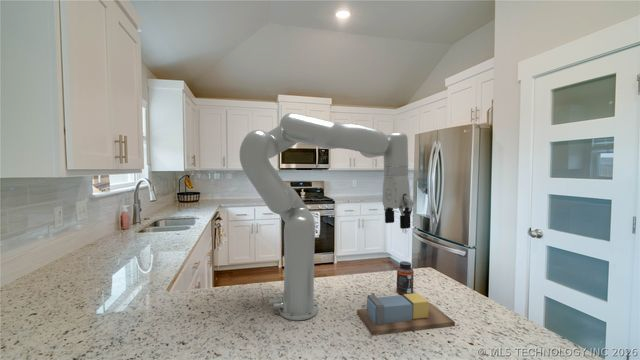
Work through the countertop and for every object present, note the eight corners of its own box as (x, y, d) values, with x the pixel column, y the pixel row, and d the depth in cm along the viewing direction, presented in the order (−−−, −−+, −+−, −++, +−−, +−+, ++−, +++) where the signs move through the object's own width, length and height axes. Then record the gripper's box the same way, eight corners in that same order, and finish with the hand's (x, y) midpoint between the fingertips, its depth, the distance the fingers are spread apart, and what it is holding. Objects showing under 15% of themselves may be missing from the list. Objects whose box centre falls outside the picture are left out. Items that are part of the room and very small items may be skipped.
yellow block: (413, 319, 80) (413, 303, 80) (402, 309, 86) (403, 294, 86) (428, 317, 81) (428, 301, 81) (417, 307, 87) (417, 293, 87)
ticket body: (375, 325, 76) (376, 306, 76) (365, 312, 84) (365, 294, 84) (413, 321, 79) (414, 302, 79) (400, 308, 86) (401, 291, 86)
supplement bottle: (414, 297, 98) (414, 266, 98) (397, 295, 99) (397, 264, 99) (411, 290, 104) (412, 260, 103) (395, 288, 105) (396, 259, 105)
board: (372, 335, 74) (372, 331, 74) (356, 313, 86) (357, 309, 86) (454, 325, 80) (454, 321, 79) (429, 306, 91) (429, 302, 91)
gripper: (373, 172, 94) (374, 221, 95) (399, 172, 77) (400, 231, 78) (393, 172, 96) (394, 220, 96) (422, 171, 79) (423, 229, 79)
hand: (397, 225), depth 87 cm, fingers open, 9 cm apart
